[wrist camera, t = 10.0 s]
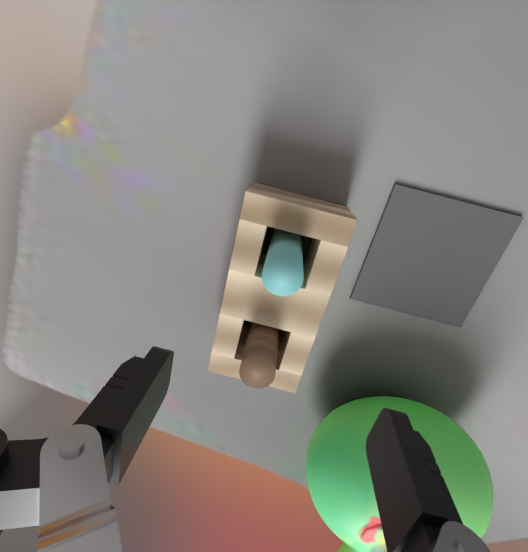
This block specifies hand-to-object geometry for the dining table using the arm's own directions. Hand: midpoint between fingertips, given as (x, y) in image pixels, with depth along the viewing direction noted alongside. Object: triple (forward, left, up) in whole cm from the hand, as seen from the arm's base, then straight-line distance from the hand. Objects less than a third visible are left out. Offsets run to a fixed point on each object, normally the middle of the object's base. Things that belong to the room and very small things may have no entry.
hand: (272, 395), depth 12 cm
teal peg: (0, 0, -22) cm, 22 cm away
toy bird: (+21, +17, -22) cm, 35 cm away
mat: (-1, +14, -22) cm, 26 cm away
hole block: (+5, 0, -22) cm, 22 cm away
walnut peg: (+9, 0, -22) cm, 24 cm away
